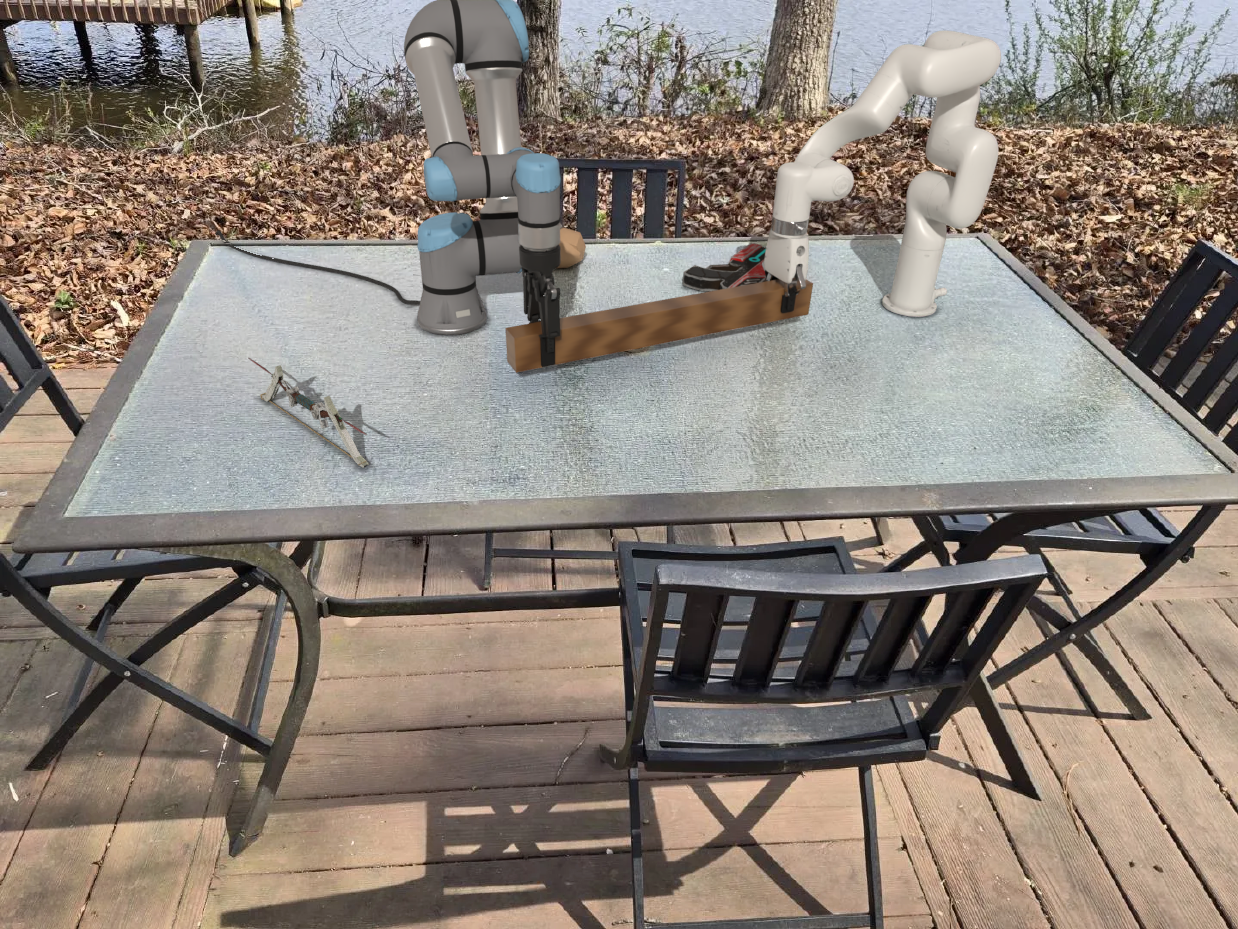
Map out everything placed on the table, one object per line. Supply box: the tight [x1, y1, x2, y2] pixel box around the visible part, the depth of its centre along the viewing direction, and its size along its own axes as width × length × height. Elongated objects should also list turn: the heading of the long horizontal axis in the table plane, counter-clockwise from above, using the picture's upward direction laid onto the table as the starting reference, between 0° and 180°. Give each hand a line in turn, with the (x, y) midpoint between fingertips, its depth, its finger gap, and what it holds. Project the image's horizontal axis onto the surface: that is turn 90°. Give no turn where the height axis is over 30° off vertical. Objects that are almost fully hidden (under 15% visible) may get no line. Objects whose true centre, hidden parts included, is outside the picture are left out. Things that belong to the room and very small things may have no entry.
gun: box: [682, 242, 767, 292], centre depth 221 cm, size 4×31×19 cm
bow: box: [247, 356, 370, 468], centre depth 154 cm, size 39×2×10 cm, turn 47°
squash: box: [556, 227, 587, 269], centre depth 226 cm, size 11×20×9 cm, turn 90°
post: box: [505, 278, 814, 374], centre depth 181 cm, size 69×5×7 cm, turn 116°
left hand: (542, 358), depth 172 cm, fingers closed on post, 5 cm apart
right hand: (779, 305), depth 192 cm, fingers closed on post, 5 cm apart
